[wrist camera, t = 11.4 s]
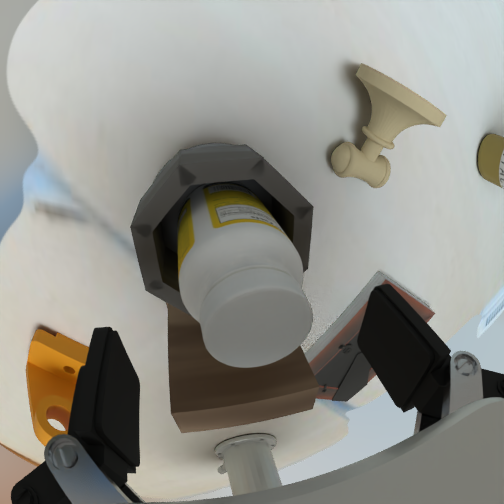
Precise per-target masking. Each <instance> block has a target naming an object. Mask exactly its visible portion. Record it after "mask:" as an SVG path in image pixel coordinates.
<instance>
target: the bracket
mask: <svg viewBox="0 0 504 504" xmlns="http://www.w3.org/2000/svg"><path fill="white" fill-rule="evenodd" d="M88 351H89V347H87V346H85V345H83V344H80V343H78V342H76V341H74V340H72V339H70V338H68V337H66V336H64V335H62V334H60V333H58V332H57V335H56V337H55V336H53V335H51V334H49V333H48V332H46V331H44V330H41V329H38V330H36V332H35V334H34V336H33V339H32V341H31V345H30V350H29V355H28V360H27V365H26V378H27V388H28V397H29V404H30V411H31V417H32V423H33V428H34V432H35V434H36V436H37V438H38V440H39V441H40V442H41V443H42V444H43V445H44V446H46V445H47V443H48V441H49V440H50V439H51V438H52V437H54V436H56V435H60V434H67V433H68V426H69V419H70V413H71V407H72V402H73V396H74V391H75V386H76V381H77V377H78V372H79V369H80V367H81V366H83V365H85V363H86V359H87V355H88ZM47 419H55V420H57V421H59V422H60V423H61V424H62V425H63V426H64V428H65V430H66V431H60V430H57V429H55V428H54V427H52V426H51V425H50V424H49V422H48V420H47Z"/></svg>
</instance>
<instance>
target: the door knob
mask: <svg viewBox="0 0 504 504" xmlns="http://www.w3.org/2000/svg"><path fill="white" fill-rule="evenodd" d="M356 76H357V77H358V78H359V79H360V80H361V82H362V83H363V84H364V86H365V87H366V89H367V91H368V93H369V96H370V99H371V104H372V115H371V119H370V123H369V125H368V126H364V127H362V132H363V133H364V134H365V135H366V136H367V139H366V141H365V143H364V144H363V146H362V148H361V150H359V149H357V148H356V147H355V145H354V144H352V143H350V142H344V143H342V144H341V145H340V146H338V147H337V148H336V149H335V150H334V151H333V153H332V156H331V163H332V166H333V169H334V172H335V174H336V175H337V176H339V177H342V178H344V177H356V178H359V179H362V180H364V181H365V182H367V183H368V184H369V185H370V186H371V187H373V188H380V187H382V186H383V185H384V184H385V183H386V182H387V180H388V179H389V176H390V169H391V168H390V163H389V161H388V159H387V158H386V157H385V156H383V155H379V154H380V152H381V151H382V149H383V147H385V148H387V149H393V148H394V144H393V142H392V141H393V140H394V138H395V137H396V136H397V135H398V134H399V133H400V132H401V131H403V130H404V129H406V128H408V127H411V126H414V125H419V124H428V125H434V126H438V127H440V126H441V124H442V123H443V121H444V119H445V117H446V115H445V114H444V113H443V112H442V111H440V110H439V109H438V108H436V107H435V106H434V105H432V104H431V103H430V102H428V101H427V100H425V99H424V98H422V97H421V96H419V95H418V94H416V93H415V92H413V91H412V90H410V89H408V88H407V87H405V86H404V85H402V84H400V83H399V82H397V81H395V80H393V79H392V78H390V77H388V76H386V75H384V74H383V73H381V72H379V71H377V70H375V69H373V68H371V67H369V66H367V65H365V64H362V63H361V65H360V67H359V69H358V71H357V73H356Z"/></svg>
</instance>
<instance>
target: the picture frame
mask: <svg viewBox="0 0 504 504" xmlns="http://www.w3.org/2000/svg"><path fill="white" fill-rule="evenodd" d="M387 283H388V284H390V285H391V286H392V287H393V288H394V289H395V290H396V291H397V292H398V293H399V294H400V295H401V296H402V297H403V298H404V299H405V300H406V301H407V302H408V303H409V304H410V305H411V307H412V308H413V309H414V310H415V311H416V312H417V313H418V314H419V315H420V316H421V317H422V318H423V320H424V321H425V322H426V323H427V322H428V321H429V320H430V319H431V318H432V316H433V315H434V314H435V313H434V312H433V311H432V309H431V308H430V307H429V306H427V305H426V304H424V303H423V302H422V301H420V300H419V299H418V298H416V297H415V296H413V295H412V294H411V293H409V292H408V291H406V290H405V289H403V288H402V287H401V286H399V285H398V284H396V283H395V282H393V281H392V280H391V279H389V278H388V277H386V276H385V275H383V274H382V273H380V272H379V271H378V272H377V273H376V274H375V275H374V277H373V278H372V279H371V280H370V282H369V283H368V284H367V285H366V286H365V288H364V289H363V290H362V291H361V292H360V294H359V295H358V296H357V297H356V298H355V299H354V301H353V302H352V303H351V304H350V305H349V306H348V308H347V309H346V310H345V311H344V312H343V313H342V314H341V316H340V317H339V318H338V319H337V320H336V321H335V322H334V323H333V324H332V326H331V327H330V328H329V329H328V330H327V331H326V332H325V333H324V334H323V335H322V336H321V337H320V338H319V340H318V341H317V342H316V343H315V344H314V345H313V346H312V347H311V348H310V349H309V350H308V351H307V352H306V353H305V357H306V359H307V361H308V363H309V365H310V367H311V369H312V372H313V374H314V376H315V378H316V380H317V382H318V384H319V390H318V393H317V396H316V398H317V399H329V400H332V401H348V400H349V399H350V398H352V397H353V396H354V395H355V394H356V393H358V392H359V391H360V390H361V389H362V388H363V387H365V386H366V385H367V383H368V382H369V381H370V380H371V379H372V378H373V377H375V376H376V373H375V372H374V370H373V368H372V367H371V365H370V364H369V362H368V361H367V359H366V358H365V356H364V355H363V353H362V352H361V350H360V348H359V347H358V344H357V338H358V335H359V332H360V328H361V325H362V322H363V318H364V315H365V311H366V307H367V304H368V300H369V296H370V293H371V291H373V289H374V287H375V286H378V285H383V284H387Z"/></svg>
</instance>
